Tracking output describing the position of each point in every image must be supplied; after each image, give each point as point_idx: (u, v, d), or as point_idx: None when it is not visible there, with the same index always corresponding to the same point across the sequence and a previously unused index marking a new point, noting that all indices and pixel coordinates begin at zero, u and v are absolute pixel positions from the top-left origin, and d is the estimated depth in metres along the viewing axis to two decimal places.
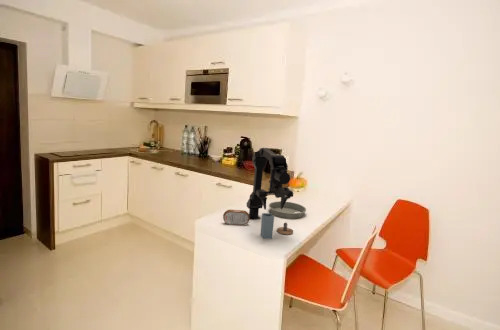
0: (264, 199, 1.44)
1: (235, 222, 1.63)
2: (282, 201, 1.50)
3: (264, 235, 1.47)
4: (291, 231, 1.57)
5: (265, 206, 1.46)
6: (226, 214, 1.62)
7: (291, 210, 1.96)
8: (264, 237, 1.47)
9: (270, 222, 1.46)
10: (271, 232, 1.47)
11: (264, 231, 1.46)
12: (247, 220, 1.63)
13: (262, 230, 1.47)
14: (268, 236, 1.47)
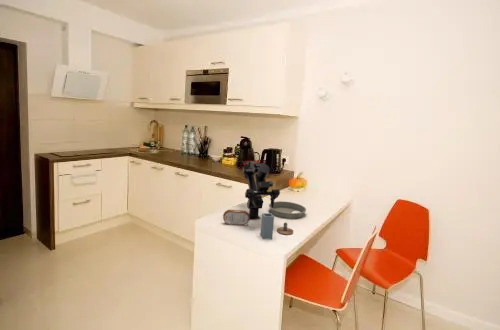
0: (252, 195, 1.55)
1: (235, 222, 1.63)
2: (271, 200, 1.59)
3: (264, 235, 1.47)
4: (291, 231, 1.57)
5: (255, 203, 1.55)
6: (226, 214, 1.62)
7: (291, 210, 1.96)
8: (264, 237, 1.47)
9: (270, 222, 1.46)
10: (271, 232, 1.47)
11: (264, 231, 1.46)
12: (247, 220, 1.63)
13: (262, 230, 1.47)
14: (268, 236, 1.47)
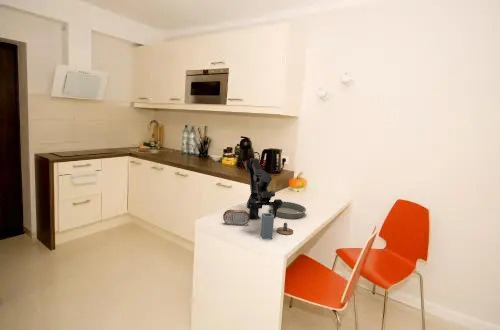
0: (254, 205, 1.51)
1: (235, 222, 1.63)
2: (274, 211, 1.54)
3: (264, 235, 1.47)
4: (291, 231, 1.57)
5: (257, 214, 1.50)
6: (226, 214, 1.62)
7: (291, 210, 1.96)
8: (264, 237, 1.47)
9: (270, 222, 1.46)
10: (271, 232, 1.47)
11: (264, 231, 1.46)
12: (247, 220, 1.63)
13: (262, 230, 1.47)
14: (268, 236, 1.47)
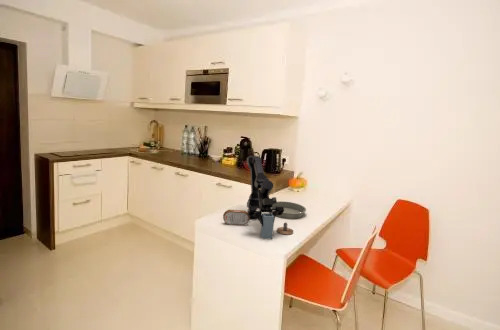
0: (259, 213, 1.48)
1: (235, 222, 1.63)
2: None
3: (264, 235, 1.47)
4: (291, 231, 1.57)
5: (262, 221, 1.47)
6: (226, 214, 1.62)
7: (291, 210, 1.96)
8: (264, 237, 1.47)
9: (270, 222, 1.46)
10: (271, 232, 1.47)
11: (264, 231, 1.46)
12: (247, 220, 1.63)
13: (262, 230, 1.47)
14: (268, 236, 1.47)
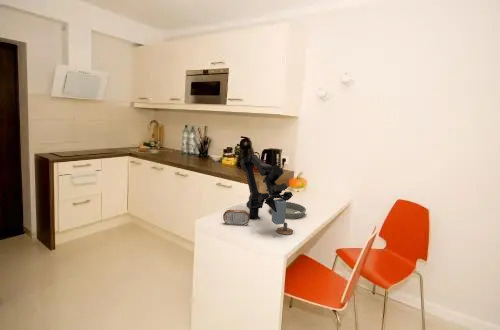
0: (271, 199, 1.50)
1: (235, 222, 1.63)
2: None
3: (277, 220, 1.49)
4: (291, 231, 1.57)
5: (275, 207, 1.49)
6: (226, 214, 1.62)
7: (291, 210, 1.96)
8: (277, 222, 1.49)
9: (283, 207, 1.49)
10: (284, 217, 1.50)
11: (278, 217, 1.49)
12: (247, 220, 1.63)
13: (276, 215, 1.49)
14: (281, 221, 1.50)
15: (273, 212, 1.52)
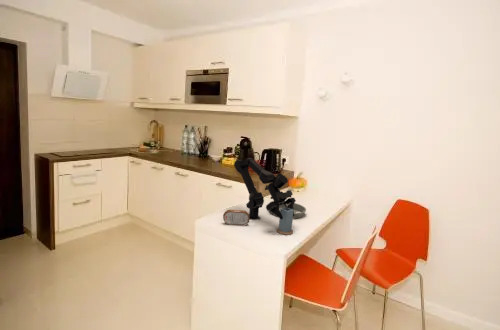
0: (277, 207, 1.53)
1: (235, 222, 1.63)
2: None
3: (286, 229, 1.55)
4: (291, 231, 1.57)
5: (281, 215, 1.53)
6: (226, 214, 1.62)
7: None
8: (286, 230, 1.55)
9: (291, 215, 1.56)
10: (291, 225, 1.57)
11: (286, 225, 1.55)
12: (247, 220, 1.63)
13: (284, 224, 1.55)
14: (289, 229, 1.57)
15: (281, 221, 1.57)
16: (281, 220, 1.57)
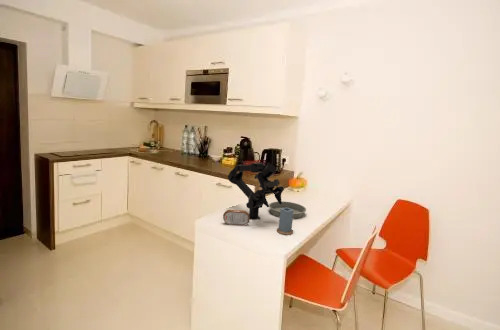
0: (263, 196, 1.60)
1: (235, 222, 1.63)
2: (278, 197, 1.67)
3: (286, 229, 1.55)
4: (291, 231, 1.57)
5: (267, 203, 1.60)
6: (226, 214, 1.62)
7: None
8: (286, 230, 1.55)
9: (291, 215, 1.56)
10: (291, 225, 1.57)
11: (286, 225, 1.55)
12: (247, 220, 1.63)
13: (284, 224, 1.55)
14: (289, 229, 1.57)
15: (281, 221, 1.57)
16: (281, 220, 1.57)
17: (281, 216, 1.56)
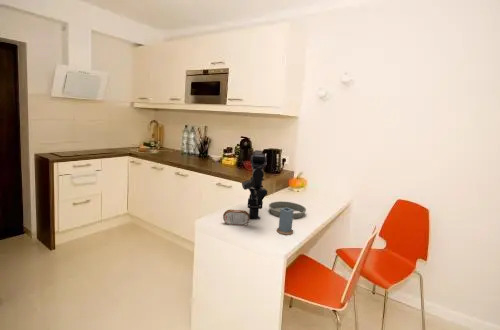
0: (249, 189, 1.67)
1: (235, 222, 1.63)
2: None
3: (286, 229, 1.55)
4: (291, 231, 1.57)
5: (251, 197, 1.67)
6: (226, 214, 1.62)
7: None
8: (286, 230, 1.55)
9: (291, 215, 1.56)
10: (291, 225, 1.57)
11: (286, 225, 1.55)
12: (247, 220, 1.63)
13: (284, 224, 1.55)
14: (289, 229, 1.57)
15: (281, 221, 1.57)
16: (281, 220, 1.57)
17: (281, 216, 1.56)
